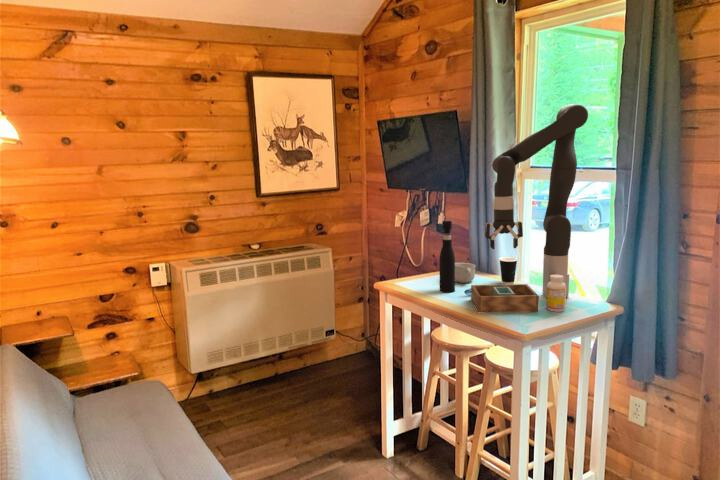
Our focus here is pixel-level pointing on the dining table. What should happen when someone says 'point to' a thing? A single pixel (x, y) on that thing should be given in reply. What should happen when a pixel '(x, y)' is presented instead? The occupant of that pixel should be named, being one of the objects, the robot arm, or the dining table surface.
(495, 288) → the teal tote
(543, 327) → the dining table surface
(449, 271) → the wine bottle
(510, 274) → the dixie cup
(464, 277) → the teacup
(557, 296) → the supplement bottle
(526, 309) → the walnut crate
